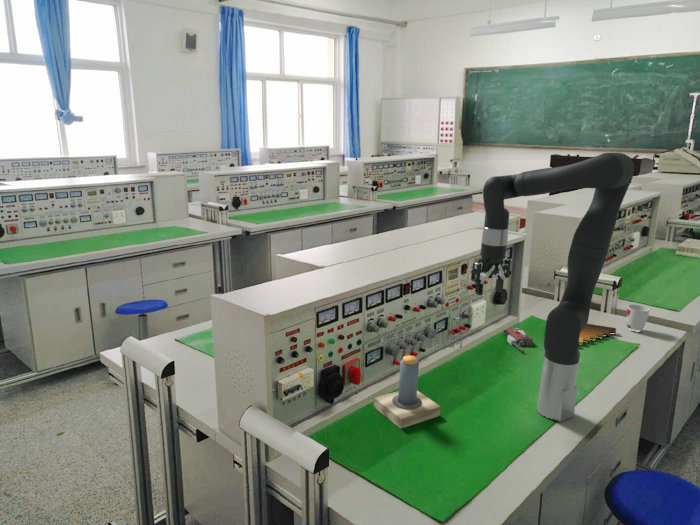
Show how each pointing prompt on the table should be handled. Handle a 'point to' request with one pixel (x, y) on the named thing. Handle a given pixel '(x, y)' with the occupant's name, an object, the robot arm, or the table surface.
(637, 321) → the cup
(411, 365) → the can
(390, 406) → the display riser
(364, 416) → the table surface
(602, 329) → the pan flute
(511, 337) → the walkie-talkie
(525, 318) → the table surface
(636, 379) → the table surface
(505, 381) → the table surface
